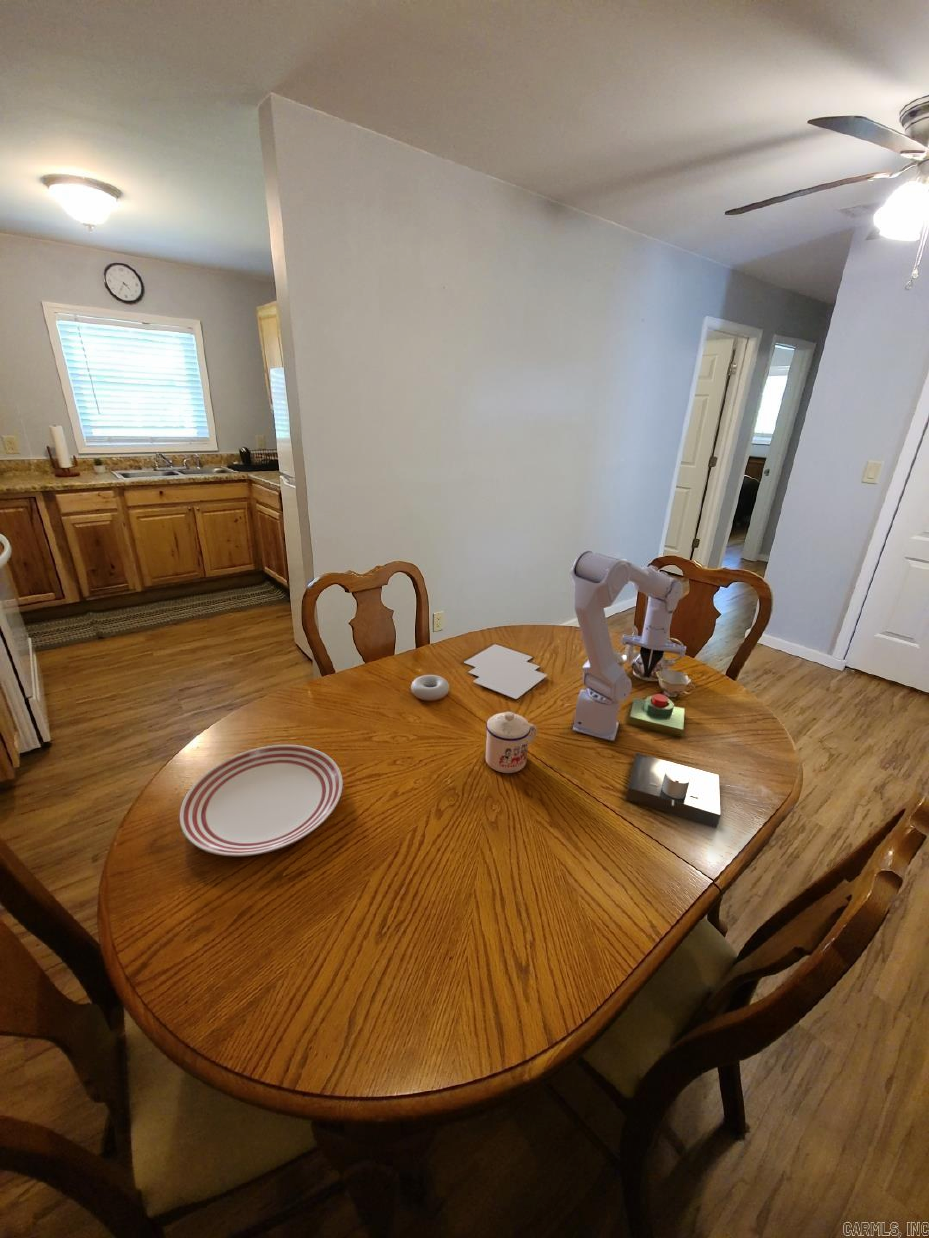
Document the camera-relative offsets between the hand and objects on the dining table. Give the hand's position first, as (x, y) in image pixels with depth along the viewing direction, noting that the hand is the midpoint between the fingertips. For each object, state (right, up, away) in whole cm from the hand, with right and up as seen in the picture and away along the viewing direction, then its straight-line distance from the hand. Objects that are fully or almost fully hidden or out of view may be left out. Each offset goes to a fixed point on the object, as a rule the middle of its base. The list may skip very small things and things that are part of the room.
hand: (647, 675), depth 124 cm
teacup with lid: (-35, -16, -17) cm, 42 cm away
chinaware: (+6, -3, +18) cm, 20 cm away
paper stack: (-34, -1, +20) cm, 39 cm away
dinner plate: (-82, -20, -32) cm, 90 cm away
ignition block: (+2, -11, -1) cm, 11 cm away
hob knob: (-5, -19, -29) cm, 35 cm away
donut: (-54, -6, +7) cm, 55 cm away
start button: (+3, -7, -1) cm, 7 cm away
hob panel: (-4, -20, -25) cm, 33 cm away
